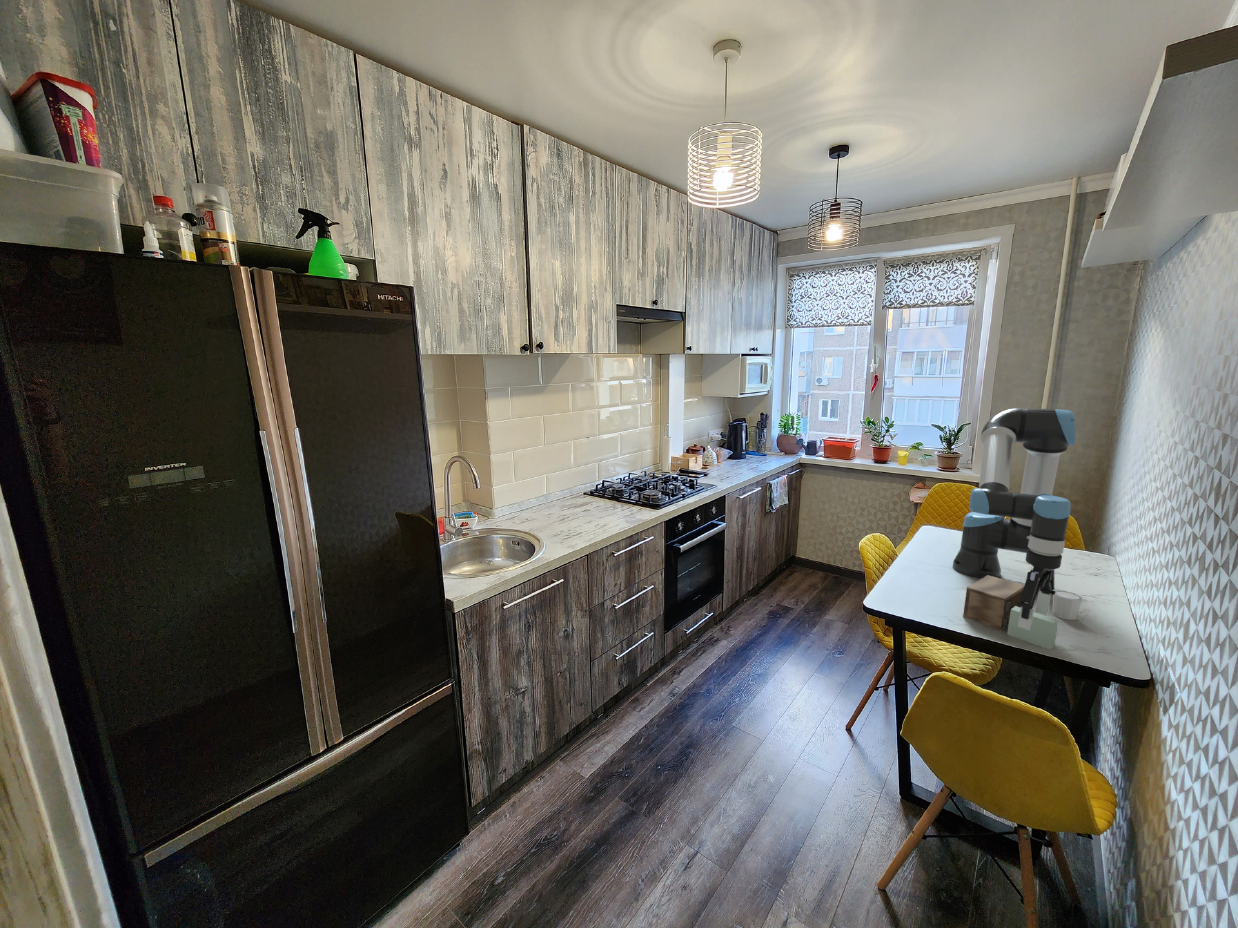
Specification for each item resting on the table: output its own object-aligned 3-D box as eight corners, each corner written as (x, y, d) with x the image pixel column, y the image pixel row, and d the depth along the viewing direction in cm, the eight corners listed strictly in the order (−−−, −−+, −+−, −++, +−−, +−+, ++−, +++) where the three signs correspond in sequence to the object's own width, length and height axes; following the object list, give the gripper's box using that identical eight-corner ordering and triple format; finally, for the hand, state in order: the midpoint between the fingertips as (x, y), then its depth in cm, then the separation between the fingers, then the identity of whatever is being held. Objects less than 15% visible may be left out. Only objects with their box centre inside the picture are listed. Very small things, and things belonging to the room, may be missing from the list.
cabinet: (962, 616, 157) (966, 587, 155) (983, 603, 166) (987, 575, 164) (1006, 631, 148) (1010, 600, 146) (1025, 616, 157) (1030, 587, 155)
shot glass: (1048, 615, 158) (1052, 594, 156) (1051, 608, 162) (1054, 588, 161) (1077, 623, 153) (1081, 602, 151) (1079, 615, 157) (1083, 595, 156)
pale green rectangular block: (1011, 630, 149) (1015, 605, 147) (1054, 645, 140) (1058, 619, 139) (1007, 634, 147) (1010, 609, 145) (1050, 649, 139) (1054, 623, 137)
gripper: (1043, 538, 148) (1032, 603, 153) (1011, 557, 135) (1000, 628, 139) (1076, 545, 142) (1063, 613, 147) (1046, 566, 129) (1033, 640, 133)
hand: (1032, 620), depth 143 cm, fingers open, 13 cm apart
